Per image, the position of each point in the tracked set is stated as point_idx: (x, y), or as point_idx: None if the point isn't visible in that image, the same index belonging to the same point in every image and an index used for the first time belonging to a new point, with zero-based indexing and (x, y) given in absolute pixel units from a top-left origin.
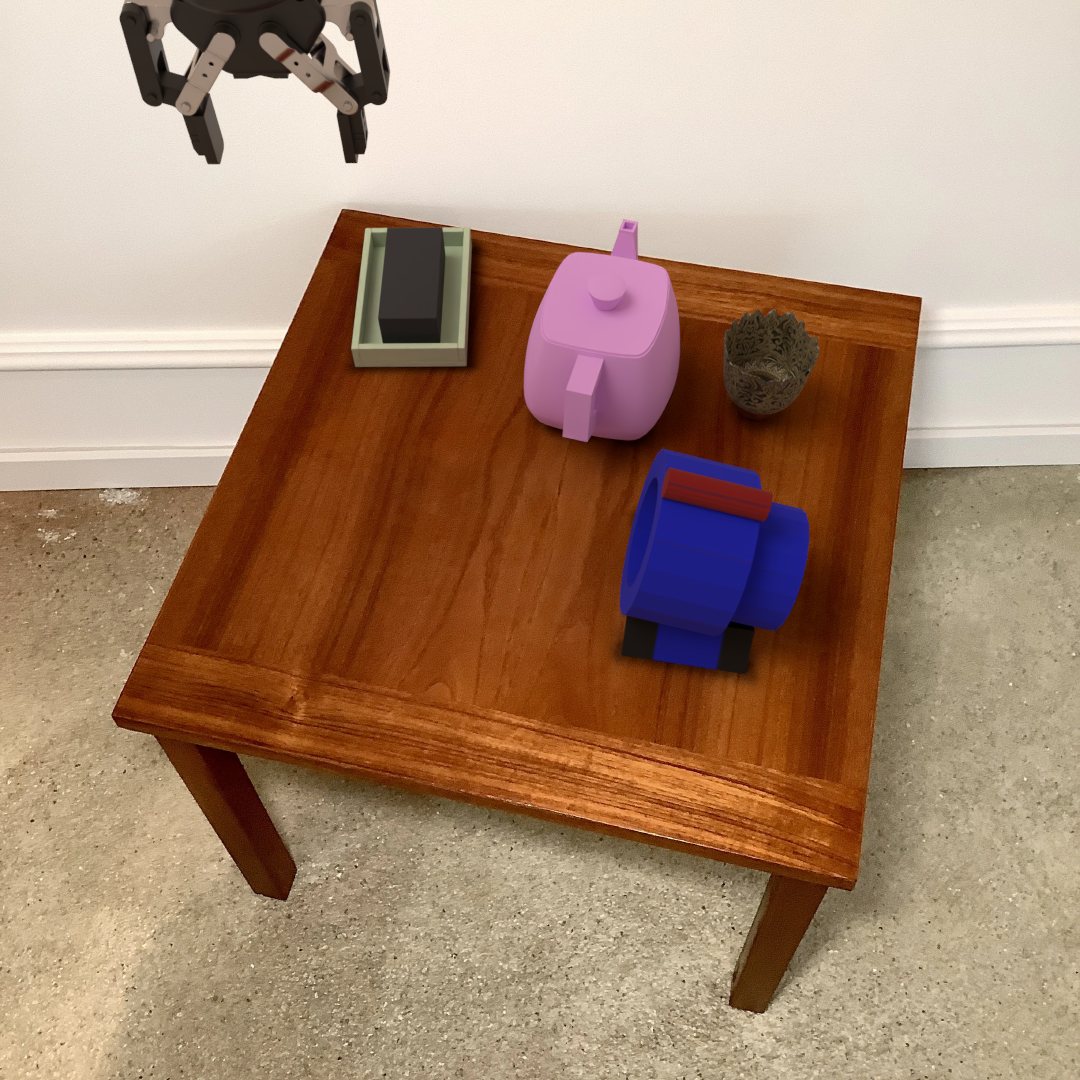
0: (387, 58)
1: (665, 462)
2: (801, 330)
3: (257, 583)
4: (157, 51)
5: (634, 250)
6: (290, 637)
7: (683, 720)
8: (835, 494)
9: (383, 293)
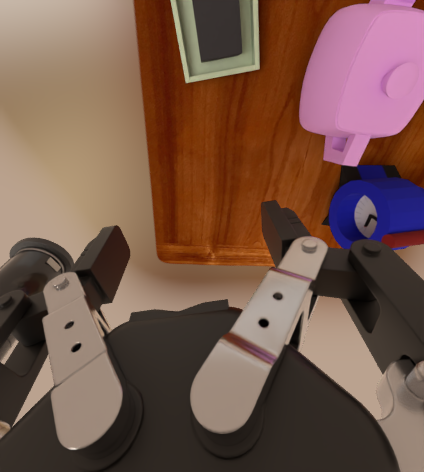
0: (406, 264)
1: (389, 221)
2: None
3: (182, 218)
4: (4, 377)
5: None
6: (202, 235)
7: None
8: None
9: (198, 29)
